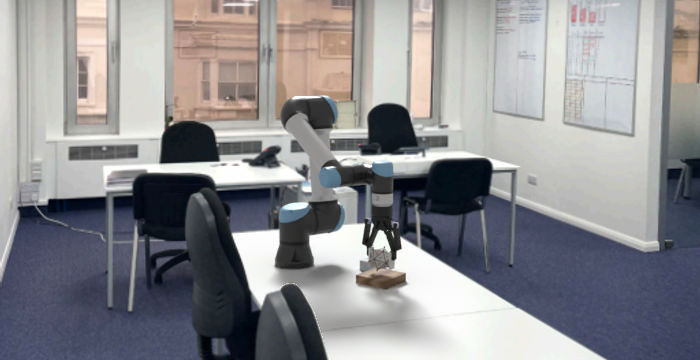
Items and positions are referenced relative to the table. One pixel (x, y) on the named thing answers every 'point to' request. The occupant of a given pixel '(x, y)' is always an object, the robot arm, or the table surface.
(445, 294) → the table surface
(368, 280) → the plinth
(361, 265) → the card box
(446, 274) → the table surface
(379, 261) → the game die
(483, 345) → the table surface
